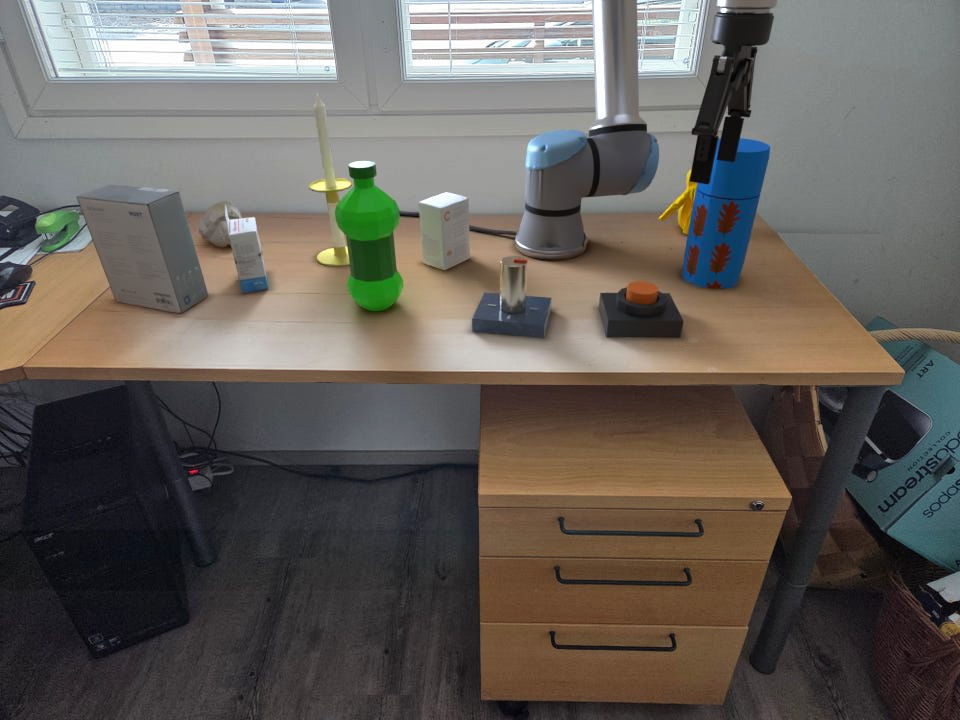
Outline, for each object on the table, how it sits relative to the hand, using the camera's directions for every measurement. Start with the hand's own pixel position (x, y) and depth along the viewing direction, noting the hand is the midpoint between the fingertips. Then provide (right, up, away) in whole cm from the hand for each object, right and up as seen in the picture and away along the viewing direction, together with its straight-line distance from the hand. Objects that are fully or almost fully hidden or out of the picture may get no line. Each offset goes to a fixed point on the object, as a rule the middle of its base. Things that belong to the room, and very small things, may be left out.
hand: (713, 171), depth 93 cm
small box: (-42, -8, +34) cm, 55 cm away
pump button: (-9, -19, +8) cm, 22 cm away
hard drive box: (-94, -18, +20) cm, 98 cm away
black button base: (-9, -22, +11) cm, 26 cm away
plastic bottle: (-54, -19, +18) cm, 60 cm away
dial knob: (-30, -20, +11) cm, 37 cm away
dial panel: (-30, -22, +12) cm, 39 cm away
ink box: (-79, -14, +26) cm, 84 cm away
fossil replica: (-92, -2, +44) cm, 102 cm away
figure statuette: (+14, +1, +47) cm, 49 cm away
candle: (-65, -7, +36) cm, 75 cm away
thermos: (+9, -13, +26) cm, 30 cm away
